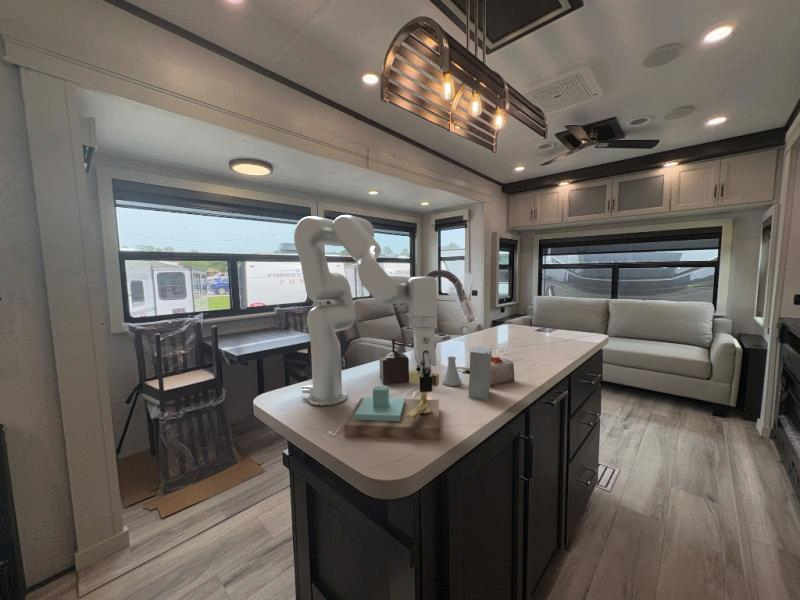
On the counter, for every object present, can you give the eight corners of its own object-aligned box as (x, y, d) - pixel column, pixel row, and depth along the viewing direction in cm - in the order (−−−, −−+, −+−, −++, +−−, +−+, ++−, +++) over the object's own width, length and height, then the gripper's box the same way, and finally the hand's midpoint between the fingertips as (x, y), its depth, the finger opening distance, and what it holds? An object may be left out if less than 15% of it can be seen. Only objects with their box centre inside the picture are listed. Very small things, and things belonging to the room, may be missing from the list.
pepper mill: (383, 385, 117) (382, 338, 116) (379, 376, 128) (378, 333, 126) (423, 381, 120) (422, 335, 119) (415, 373, 131) (415, 331, 130)
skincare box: (471, 389, 111) (471, 345, 110) (492, 391, 108) (492, 346, 107) (467, 398, 103) (467, 350, 102) (490, 400, 100) (490, 352, 99)
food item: (488, 389, 111) (488, 361, 110) (473, 382, 118) (473, 356, 117) (516, 383, 117) (516, 357, 116) (501, 377, 124) (501, 352, 123)
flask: (461, 387, 113) (461, 360, 112) (441, 386, 115) (441, 359, 114) (461, 380, 120) (461, 355, 120) (442, 379, 122) (442, 354, 121)
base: (344, 436, 79) (344, 424, 79) (361, 407, 97) (361, 397, 97) (439, 440, 76) (439, 428, 76) (438, 409, 94) (438, 399, 94)
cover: (354, 419, 82) (354, 395, 81) (365, 401, 94) (364, 380, 93) (400, 421, 80) (399, 396, 80) (404, 402, 92) (404, 381, 92)
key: (425, 428, 76) (424, 385, 75) (396, 421, 79) (395, 380, 79) (440, 410, 86) (440, 372, 85) (414, 405, 89) (413, 369, 88)
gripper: (442, 326, 75) (443, 397, 77) (431, 317, 93) (432, 375, 94) (412, 327, 75) (413, 398, 76) (406, 318, 92) (407, 376, 94)
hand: (423, 385), depth 85 cm, fingers open, 7 cm apart
